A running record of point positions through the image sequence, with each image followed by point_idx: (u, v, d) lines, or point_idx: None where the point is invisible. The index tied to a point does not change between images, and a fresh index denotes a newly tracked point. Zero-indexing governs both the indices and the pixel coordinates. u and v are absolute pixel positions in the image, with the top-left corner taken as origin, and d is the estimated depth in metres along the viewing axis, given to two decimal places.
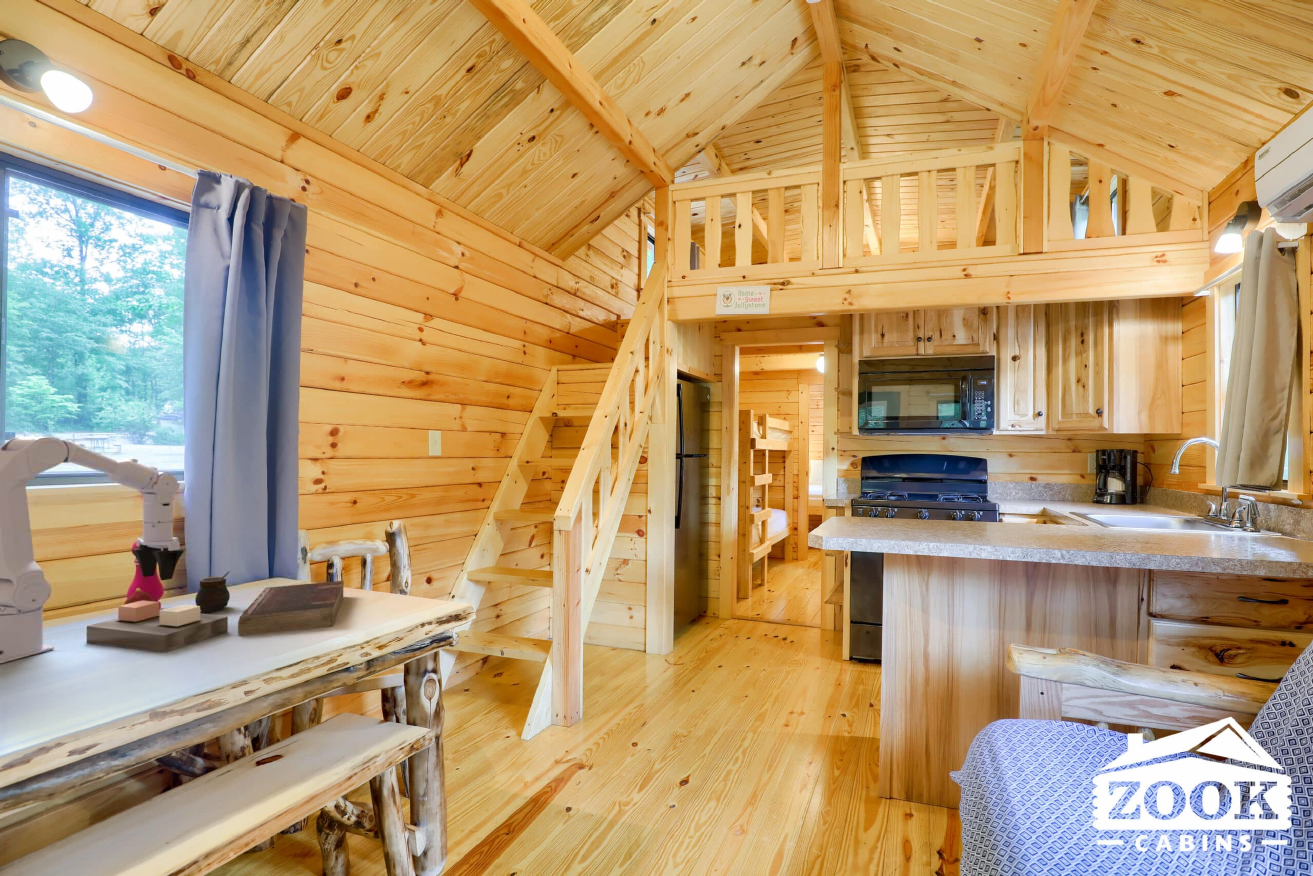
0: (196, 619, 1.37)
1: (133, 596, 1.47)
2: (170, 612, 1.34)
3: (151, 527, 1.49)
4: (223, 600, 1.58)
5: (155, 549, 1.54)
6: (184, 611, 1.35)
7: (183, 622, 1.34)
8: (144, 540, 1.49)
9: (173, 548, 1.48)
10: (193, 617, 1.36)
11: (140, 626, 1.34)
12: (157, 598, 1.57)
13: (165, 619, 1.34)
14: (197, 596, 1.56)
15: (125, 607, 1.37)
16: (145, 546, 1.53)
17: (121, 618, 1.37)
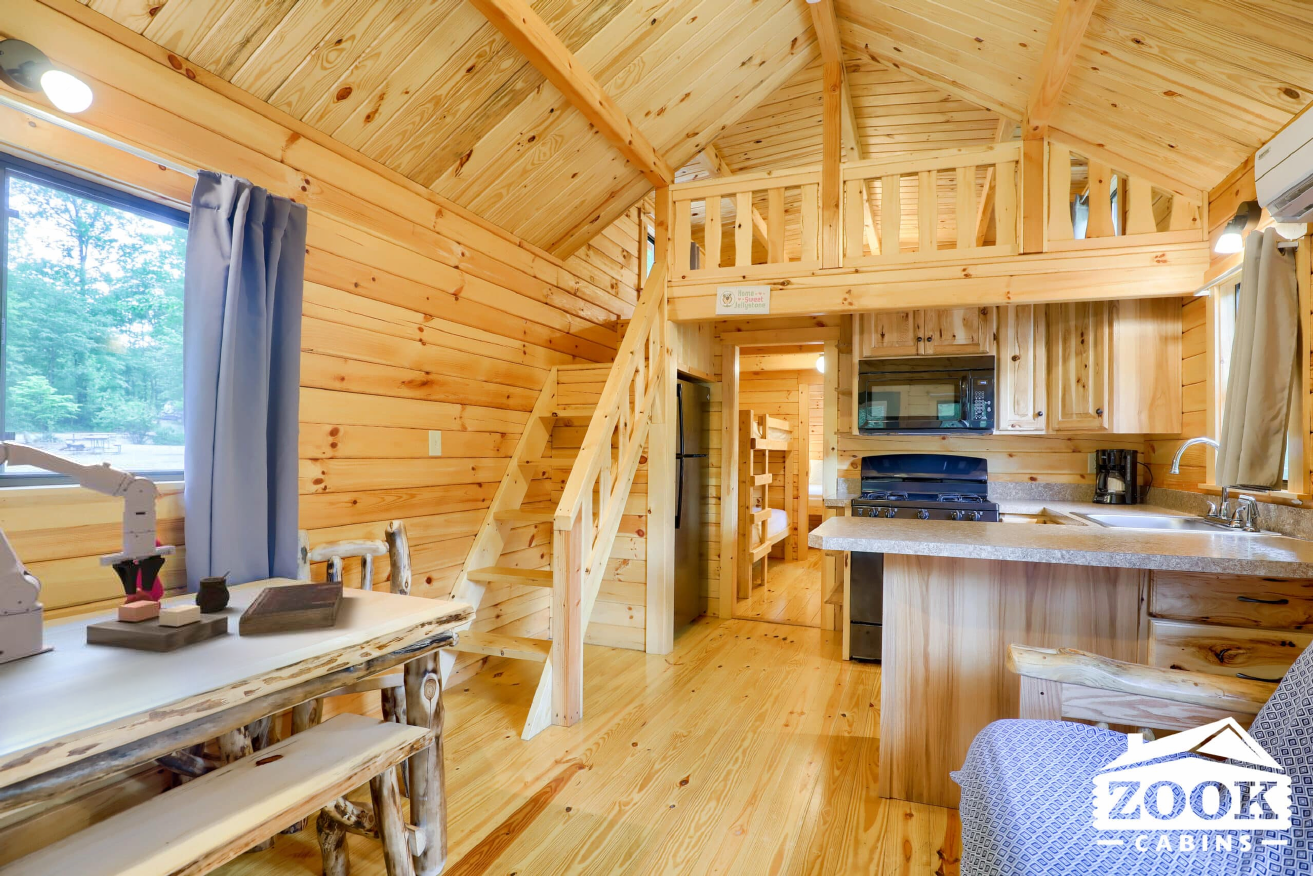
0: (196, 619, 1.37)
1: (133, 596, 1.47)
2: (170, 612, 1.34)
3: None
4: (223, 600, 1.58)
5: (151, 562, 1.40)
6: (184, 611, 1.35)
7: (183, 622, 1.34)
8: None
9: (101, 563, 1.32)
10: (193, 617, 1.36)
11: (140, 626, 1.34)
12: (157, 598, 1.57)
13: (165, 619, 1.34)
14: (197, 596, 1.56)
15: (125, 607, 1.37)
16: None
17: (121, 618, 1.37)
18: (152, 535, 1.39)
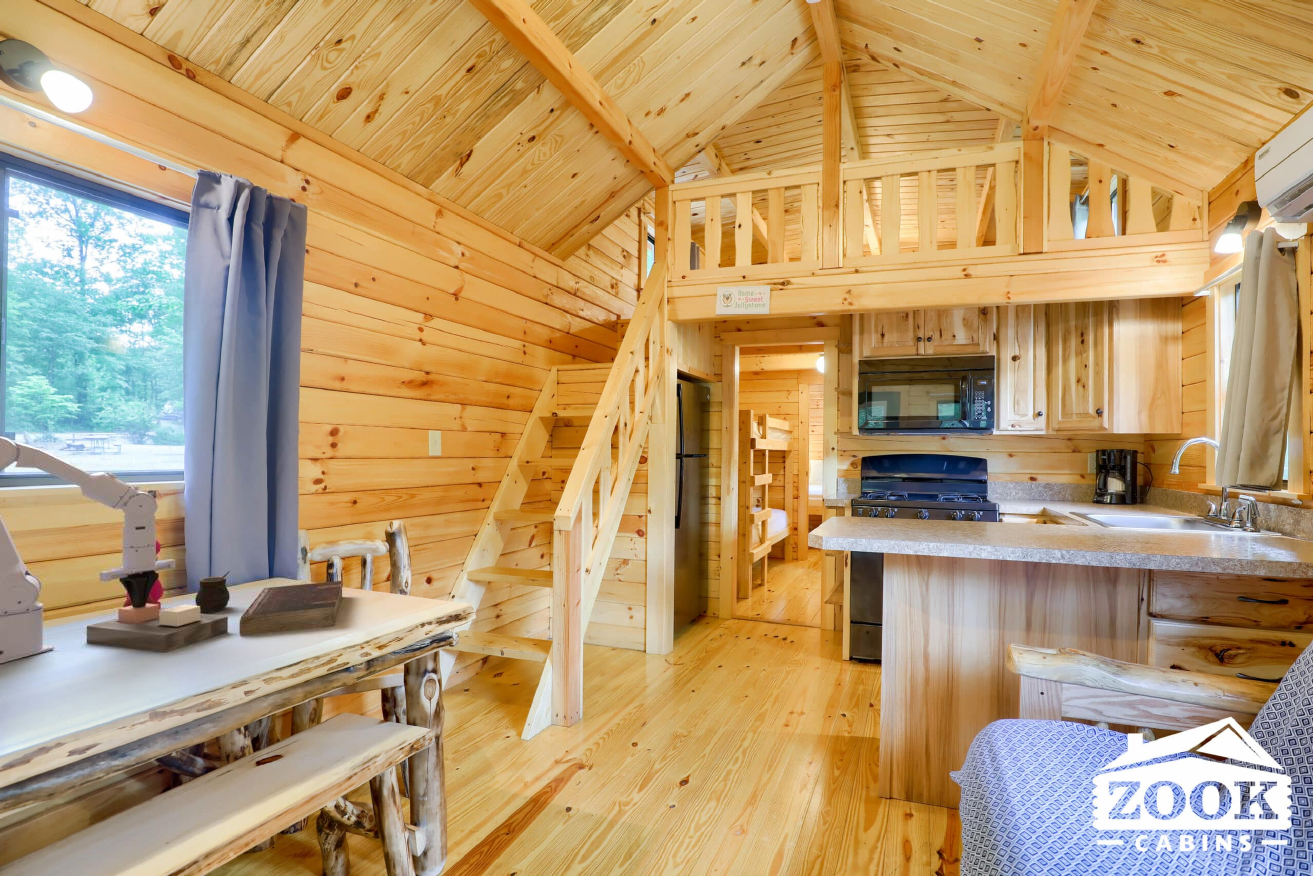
0: (196, 619, 1.37)
1: None
2: (170, 612, 1.34)
3: None
4: (223, 600, 1.58)
5: None
6: (184, 611, 1.35)
7: (183, 622, 1.34)
8: None
9: (101, 579, 1.32)
10: (193, 617, 1.36)
11: (140, 626, 1.34)
12: (157, 598, 1.57)
13: (165, 619, 1.34)
14: (197, 596, 1.56)
15: (125, 610, 1.37)
16: None
17: (121, 621, 1.37)
18: (152, 550, 1.39)
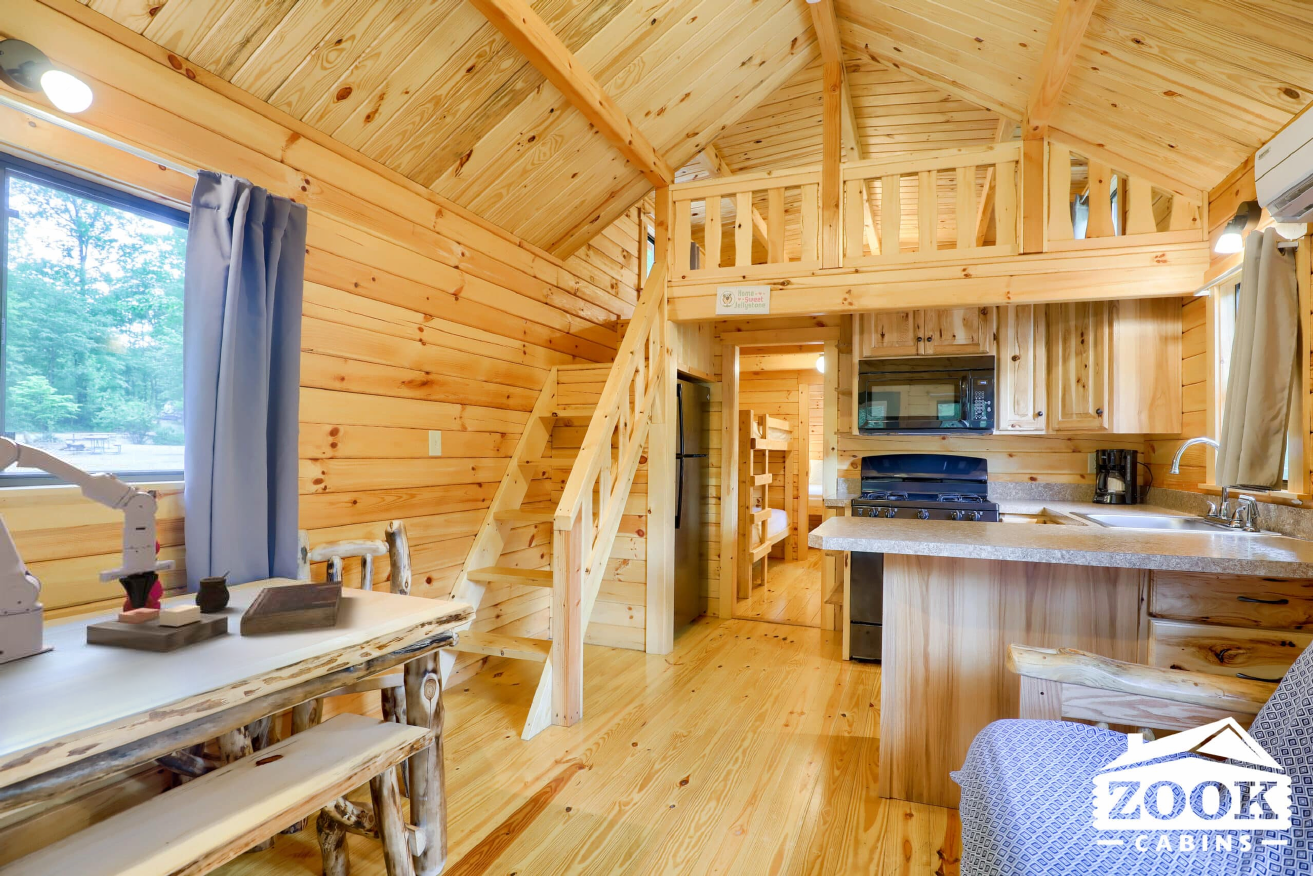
0: (196, 619, 1.37)
1: None
2: (170, 612, 1.34)
3: None
4: (223, 600, 1.58)
5: None
6: (184, 611, 1.35)
7: (183, 622, 1.34)
8: None
9: (101, 579, 1.32)
10: (193, 617, 1.36)
11: (140, 626, 1.34)
12: (156, 598, 1.57)
13: (165, 619, 1.34)
14: (197, 596, 1.56)
15: (125, 615, 1.37)
16: None
17: None
18: (152, 550, 1.39)
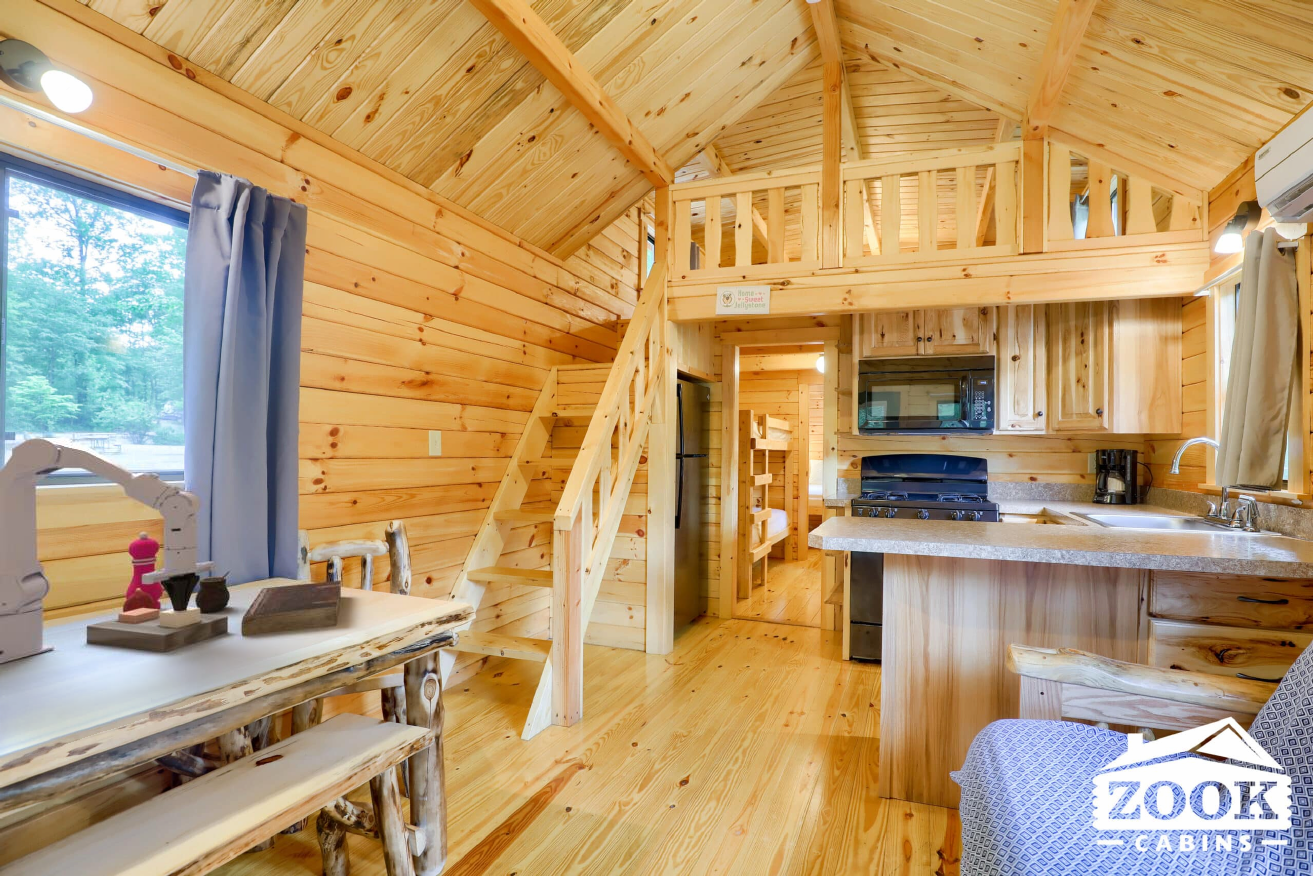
0: (196, 621, 1.37)
1: (133, 596, 1.47)
2: (170, 614, 1.34)
3: None
4: (223, 600, 1.58)
5: None
6: (184, 613, 1.35)
7: (183, 624, 1.34)
8: None
9: (144, 581, 1.29)
10: (193, 619, 1.36)
11: (140, 626, 1.34)
12: (156, 598, 1.57)
13: (165, 621, 1.34)
14: (197, 596, 1.56)
15: (125, 615, 1.37)
16: (195, 572, 1.40)
17: None
18: (193, 551, 1.36)
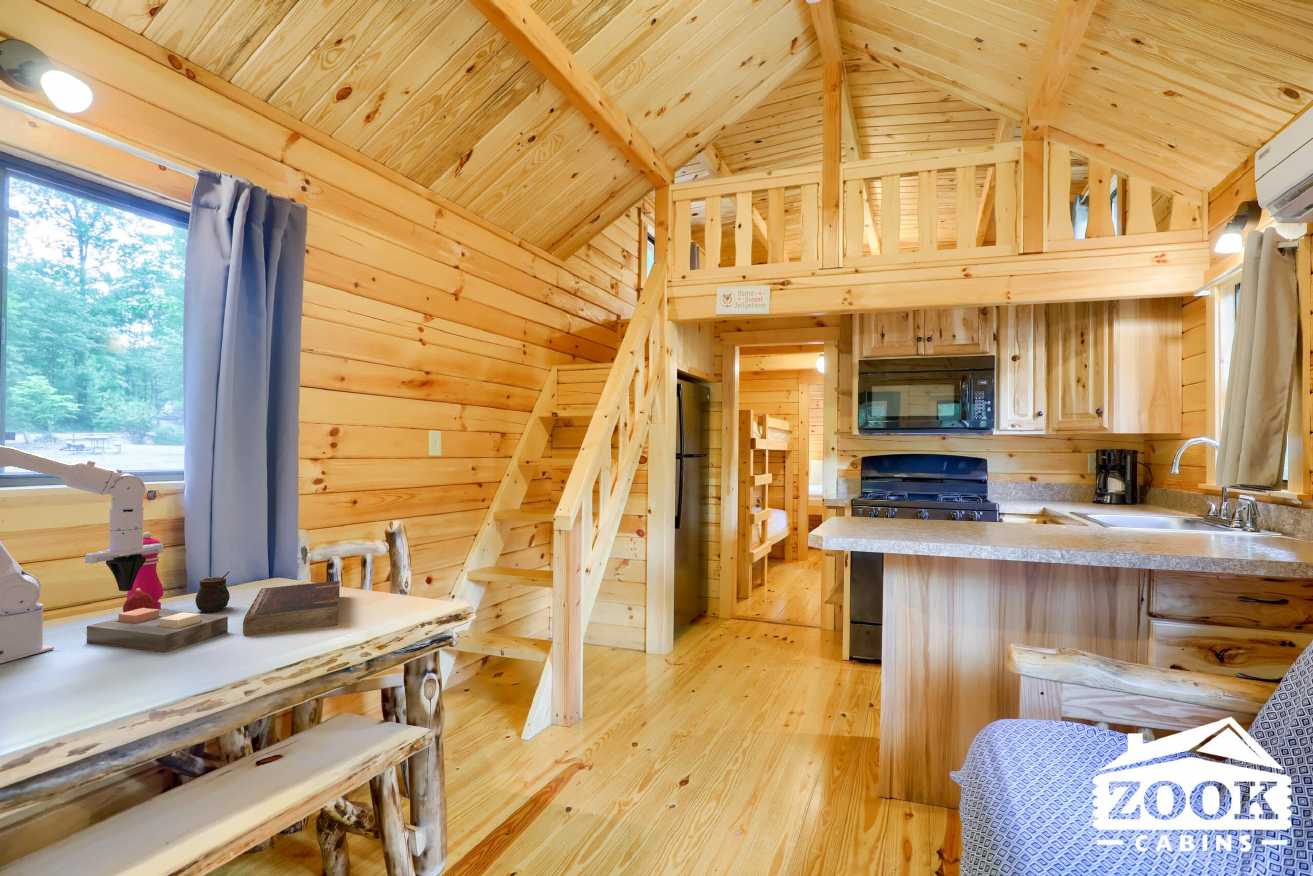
0: None
1: (133, 596, 1.47)
2: (170, 620, 1.34)
3: None
4: (223, 600, 1.58)
5: None
6: (184, 619, 1.35)
7: None
8: None
9: (87, 561, 1.31)
10: None
11: (140, 626, 1.34)
12: (156, 598, 1.57)
13: None
14: (197, 596, 1.56)
15: (125, 615, 1.37)
16: None
17: None
18: (139, 533, 1.38)
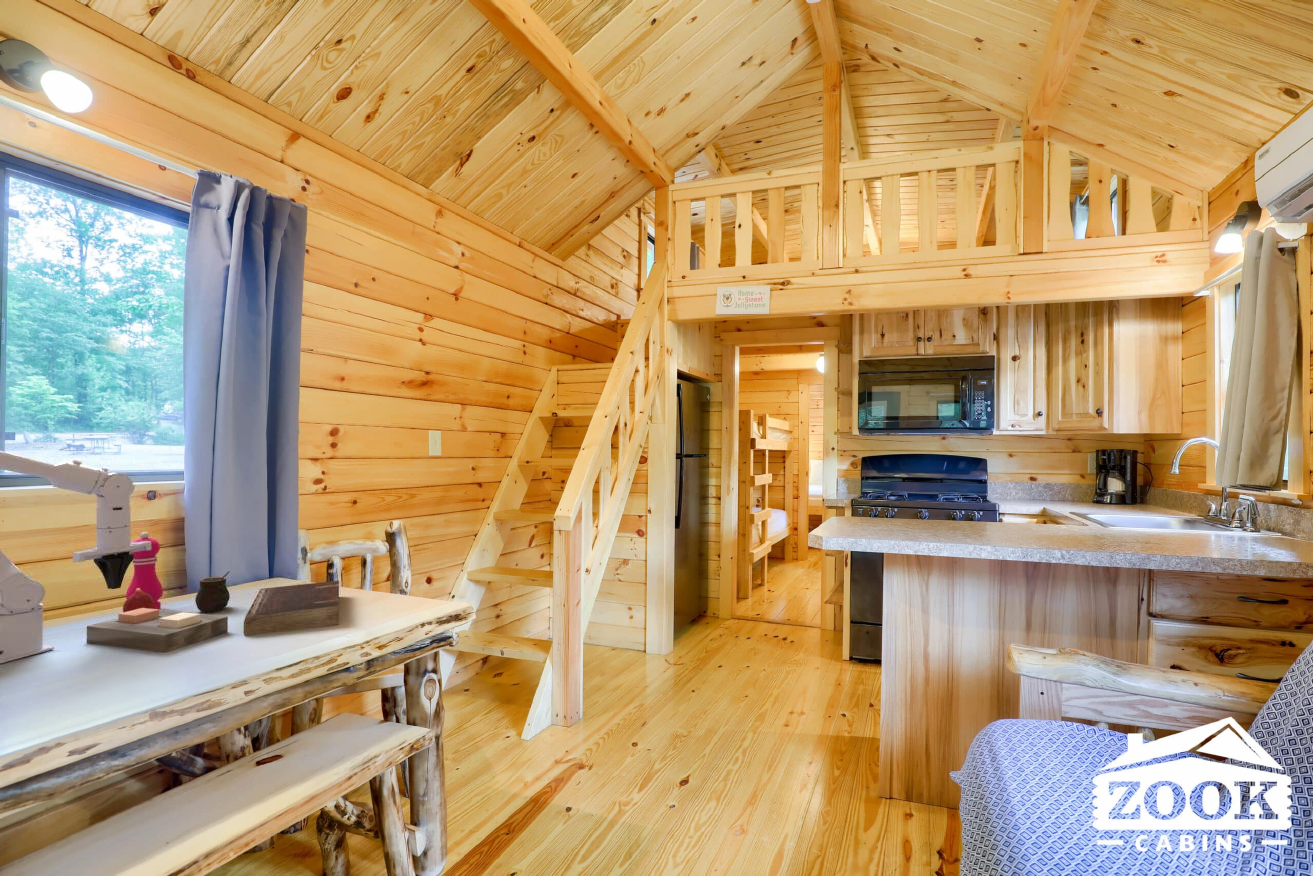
0: None
1: (133, 596, 1.47)
2: (170, 620, 1.34)
3: None
4: (223, 600, 1.58)
5: None
6: (184, 619, 1.35)
7: None
8: None
9: (75, 559, 1.32)
10: None
11: (140, 626, 1.34)
12: (156, 598, 1.57)
13: None
14: (197, 596, 1.56)
15: (125, 615, 1.37)
16: None
17: None
18: (126, 531, 1.39)
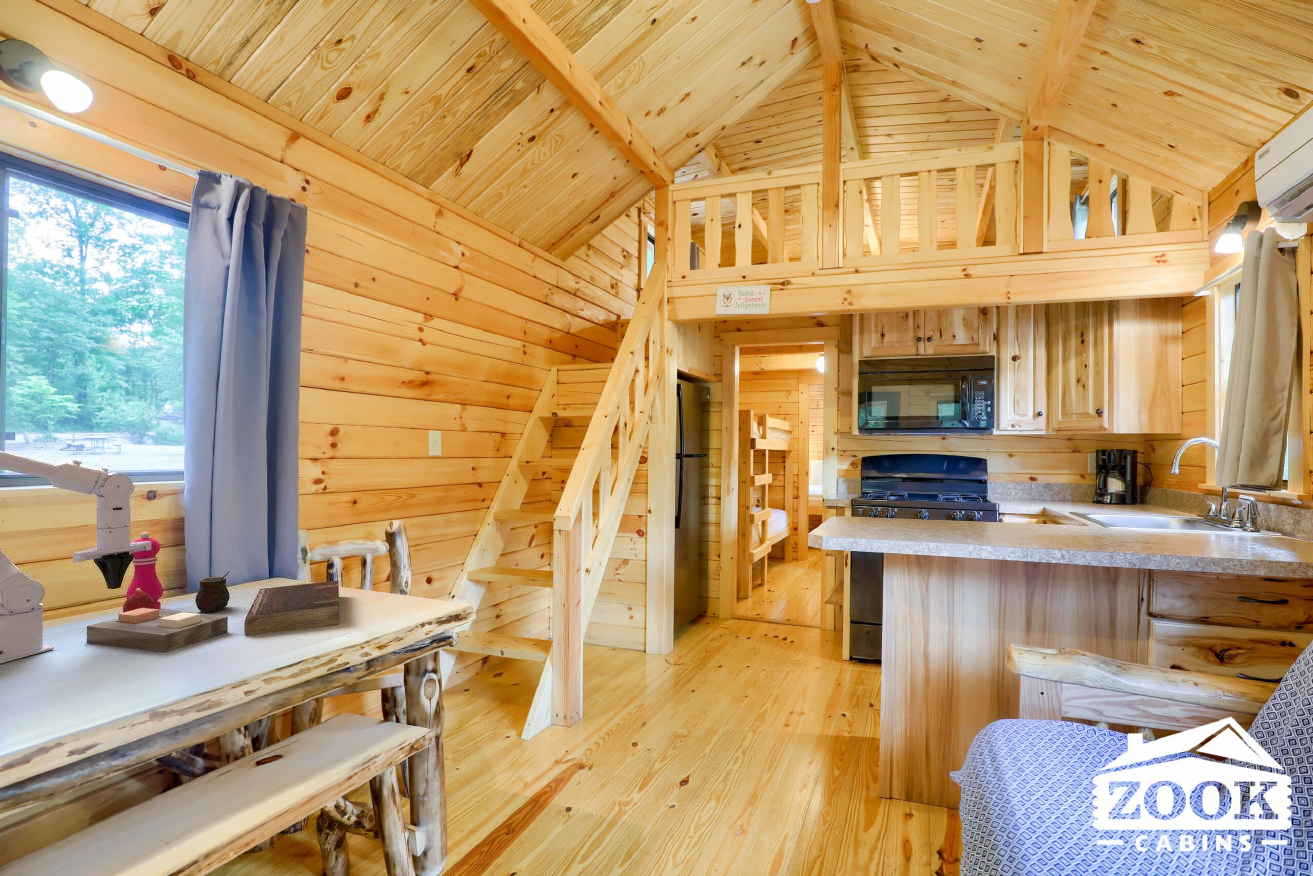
0: None
1: (133, 596, 1.47)
2: (170, 620, 1.34)
3: None
4: (223, 600, 1.58)
5: None
6: (184, 619, 1.35)
7: None
8: None
9: (75, 559, 1.32)
10: None
11: (140, 626, 1.34)
12: (156, 598, 1.57)
13: None
14: (197, 596, 1.56)
15: (125, 615, 1.37)
16: None
17: None
18: (126, 531, 1.39)
